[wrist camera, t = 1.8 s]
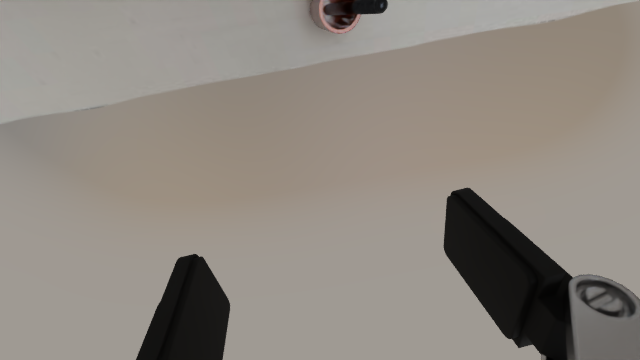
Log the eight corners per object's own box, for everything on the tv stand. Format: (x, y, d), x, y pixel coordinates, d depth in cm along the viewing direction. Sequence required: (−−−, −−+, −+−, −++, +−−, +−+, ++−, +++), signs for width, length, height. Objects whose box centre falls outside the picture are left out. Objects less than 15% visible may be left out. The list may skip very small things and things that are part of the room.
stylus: (323, 15, 34) (376, 13, 23) (323, 4, 34) (377, -4, 22) (332, 15, 34) (390, 12, 23) (332, 3, 34) (390, -5, 22)
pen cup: (311, 31, 36) (320, 35, 29) (308, -10, 33) (317, -16, 26) (345, 28, 36) (361, 31, 29) (343, -13, 34) (361, -21, 27)
